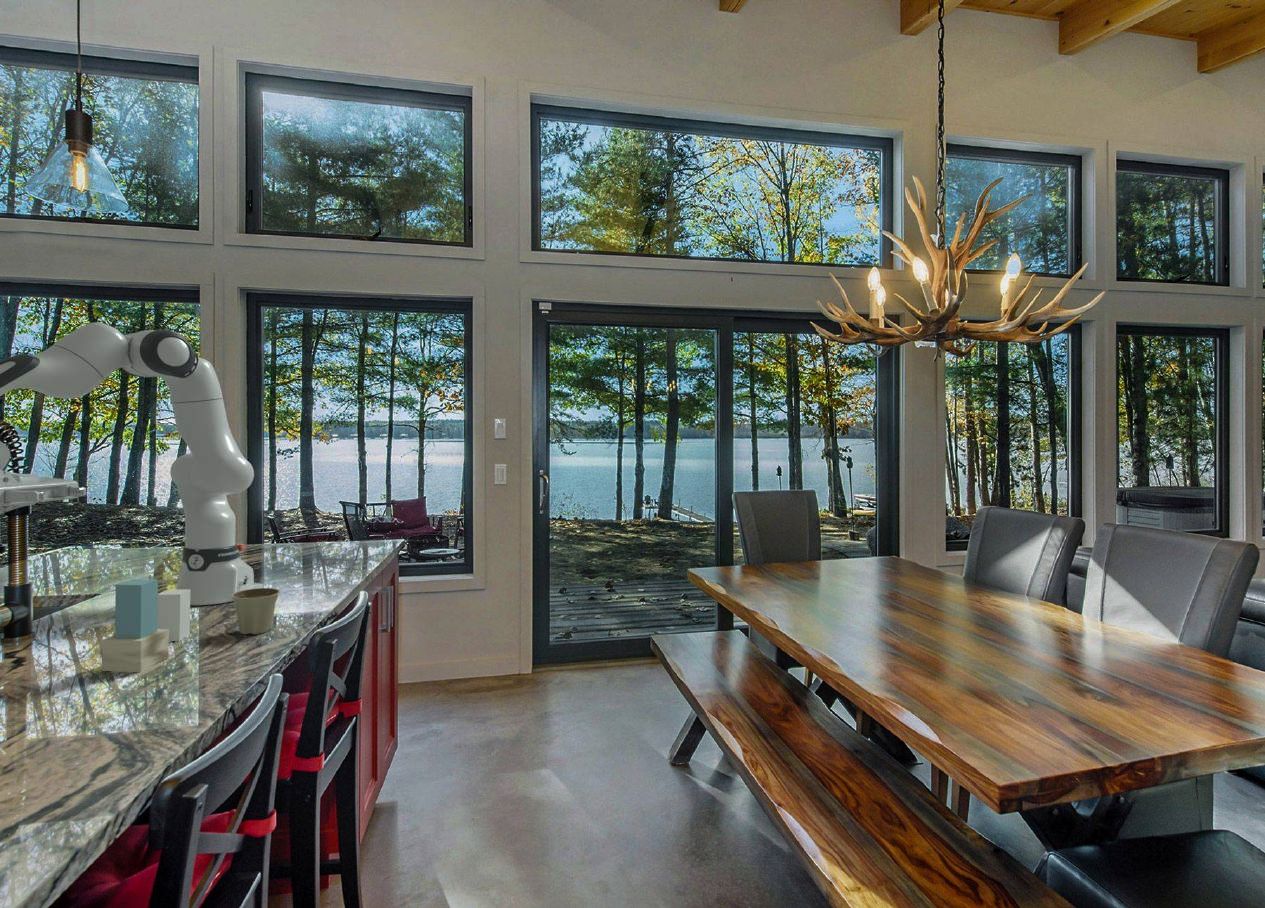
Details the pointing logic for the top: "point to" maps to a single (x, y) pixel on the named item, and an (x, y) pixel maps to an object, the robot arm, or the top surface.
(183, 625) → the white block
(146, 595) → the teal block
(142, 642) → the birch block
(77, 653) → the top surface
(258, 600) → the flower pot
